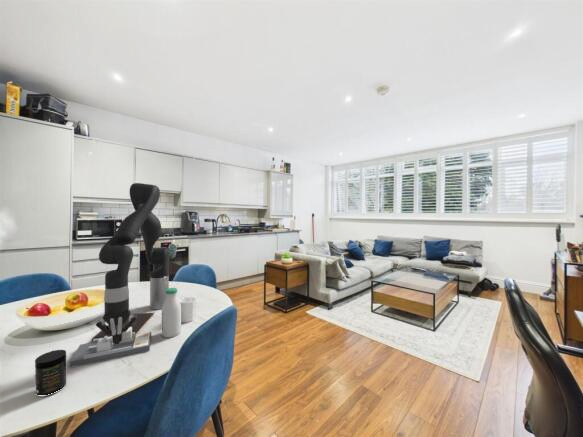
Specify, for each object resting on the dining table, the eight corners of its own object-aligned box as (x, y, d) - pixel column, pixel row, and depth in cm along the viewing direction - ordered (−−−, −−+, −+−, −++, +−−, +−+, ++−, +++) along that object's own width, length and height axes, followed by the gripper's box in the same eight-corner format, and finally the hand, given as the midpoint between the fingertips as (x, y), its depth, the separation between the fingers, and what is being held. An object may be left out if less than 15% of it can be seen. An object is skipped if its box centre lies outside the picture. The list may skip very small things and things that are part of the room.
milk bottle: (184, 331, 111) (185, 287, 110) (171, 339, 104) (171, 292, 103) (171, 328, 113) (171, 285, 113) (157, 336, 106) (157, 290, 105)
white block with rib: (99, 348, 92) (99, 336, 92) (112, 346, 94) (112, 334, 94) (96, 354, 88) (96, 342, 88) (110, 351, 90) (110, 339, 90)
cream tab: (120, 337, 100) (120, 327, 100) (132, 335, 102) (132, 325, 102) (118, 342, 96) (118, 331, 96) (130, 340, 98) (130, 329, 98)
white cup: (189, 324, 118) (189, 303, 117) (175, 322, 119) (175, 302, 119) (198, 317, 125) (198, 297, 125) (185, 315, 127) (185, 296, 127)
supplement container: (71, 386, 76) (70, 353, 75) (41, 401, 70) (41, 365, 69) (60, 379, 79) (60, 347, 78) (31, 393, 72) (30, 359, 72)
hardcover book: (154, 316, 126) (154, 312, 126) (134, 340, 103) (134, 334, 103) (120, 318, 123) (120, 314, 123) (91, 343, 101) (91, 337, 100)
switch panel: (80, 349, 95) (80, 341, 95) (151, 336, 106) (151, 329, 106) (68, 367, 84) (68, 359, 84) (149, 351, 95) (149, 343, 95)
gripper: (138, 292, 98) (138, 334, 99) (97, 297, 92) (98, 342, 93) (136, 298, 92) (136, 344, 92) (92, 304, 86) (92, 352, 86)
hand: (117, 343), depth 93 cm, fingers closed
